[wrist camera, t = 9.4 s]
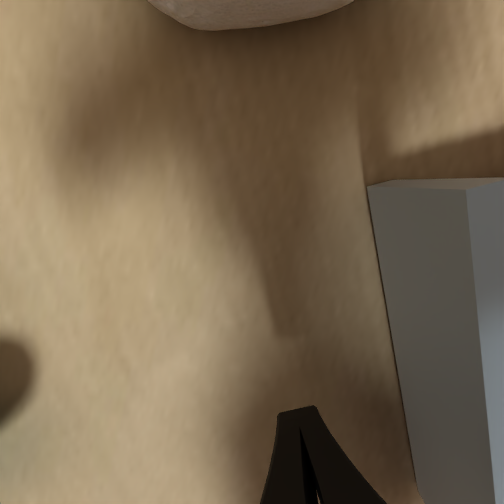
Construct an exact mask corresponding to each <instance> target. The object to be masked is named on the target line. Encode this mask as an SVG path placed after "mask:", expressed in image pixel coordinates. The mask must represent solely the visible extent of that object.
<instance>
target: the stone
mask: <svg viewBox="0 0 504 504" xmlns="http://www.w3.org/2000/svg"><path fill="white" fill-rule="evenodd" d="M147 1H148V2H149V3H151V4H152V5H153V6H154V7H156V8H157V9H159V10H160V11H161V12H163V13H165V14H167V15H169V16H171V17H172V18H174V19H175V20H177V21H178V22H180V23H182V24H184V25H186V26H188V27H190V28H194V29H198V30H207V31H216V30H227V29H242V28H254V27H263V26H270V25H275V24H281V23H286V22H291V21H296V20H301V19H307V18H312V17H317V16H320V15H323V14H326V13H328V12H331V11H334V10H337V9H339V8H341V7H343V6H345V5H348V4H350V3H352V2H353V1H354V0H147Z"/></svg>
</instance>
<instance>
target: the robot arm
mask: <svg viewBox="0 0 504 504" xmlns="http://www.w3.org/2000/svg"><path fill="white" fill-rule="evenodd" d="M316 490H317V491H316ZM317 493H318V496H319V500H320V503H321V504H387V503H386V502H385V501H384V500H383V499H382V498H381V497H380V496H379V495H378V493H377V492H376V491H375V490H374V489H373V488H372V487H371V485H370V484H369V483H368V482H367V481H366V480H365V478H364V477H363V476H362V475H361V473H360V472H359V471H358V470H357V469H356V467H355V466H354V465H353V464H352V462H351V461H350V460H349V458H348V457H347V456H346V454H345V453H344V452H343V450H342V449H341V447H340V446H339V445H338V443H337V442H336V440H335V439H334V437H333V436H332V434H331V433H330V431H329V430H328V428H327V426H326V425H325V423H324V421H323V420H322V418H321V416H320V414H319V412H318V409H317V407H315V406H314V405H312V406H308V407H303V408H299V409H294V410H290V411H286V412H281V413H279V414H278V416H277V428H276V436H275V442H274V448H273V453H272V458H271V463H270V467H269V472H268V476H267V479H266V483H265V487H264V490H263V494H262V498H261V501H260V504H318V498H317Z"/></svg>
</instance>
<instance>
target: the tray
mask: <svg viewBox="0 0 504 504" xmlns="http://www.w3.org/2000/svg"><path fill="white" fill-rule="evenodd" d="M367 192H368V198H369V203H370V209H371V215H372V221H373V227H374V233H375V239H376V245H377V251H378V257H379V263H380V269H381V275H382V281H383V286H384V292H385V298H386V304H387V310H388V316H389V322H390V328H391V334H392V340H393V346H394V352H395V358H396V363H397V369H398V375H399V381H400V387H401V393H402V399H403V405H404V411H405V417H406V423H407V429H408V435H409V440H410V446H411V452H412V458H413V464H414V470H415V476H416V482H417V488H418V492H419V494H420V495H421V497H422V499H423V501H424V503H425V504H504V177H496V178H451V179H406V180H390V181H386V182H382V183H379V184H375V185H371V186H367Z"/></svg>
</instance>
